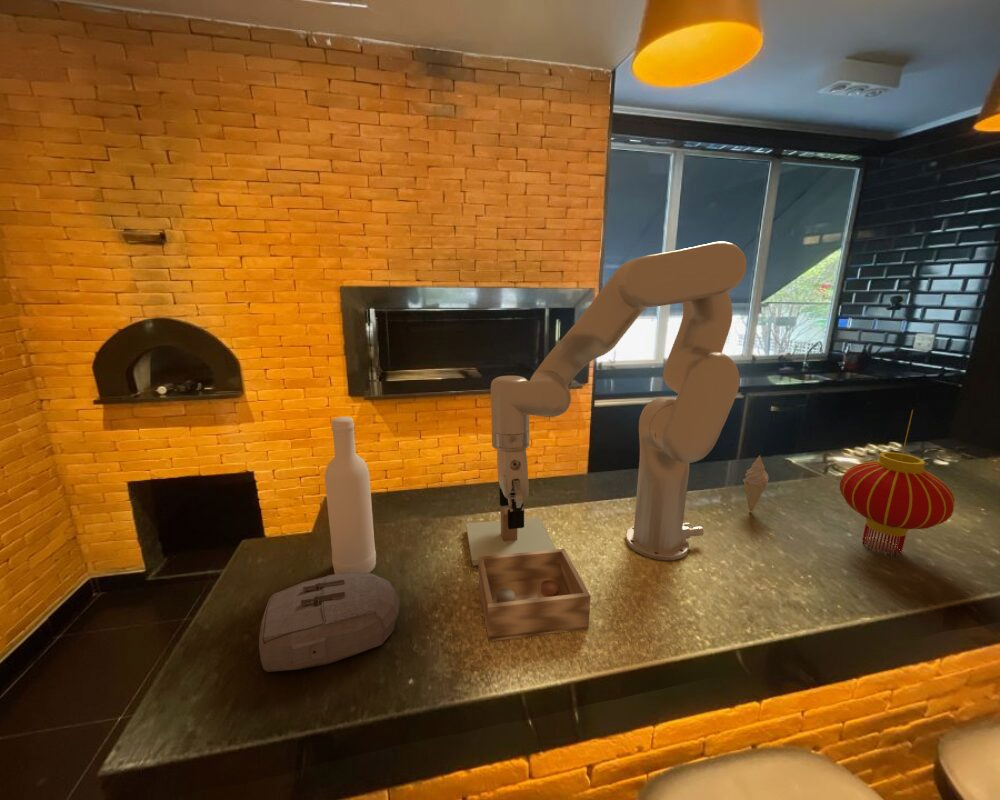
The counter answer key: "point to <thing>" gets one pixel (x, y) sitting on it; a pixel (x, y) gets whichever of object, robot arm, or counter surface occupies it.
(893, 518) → the lantern
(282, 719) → the counter surface
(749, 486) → the ice cream cone
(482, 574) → the storage box
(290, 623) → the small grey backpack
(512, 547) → the lid
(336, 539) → the bottle
